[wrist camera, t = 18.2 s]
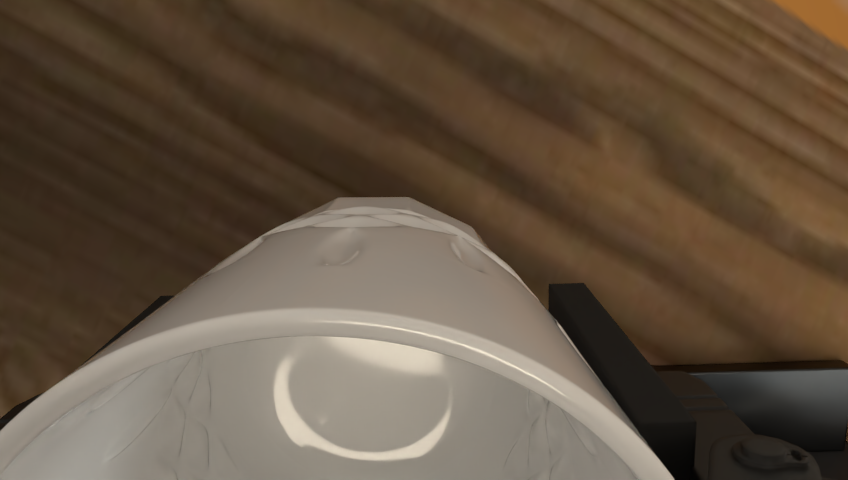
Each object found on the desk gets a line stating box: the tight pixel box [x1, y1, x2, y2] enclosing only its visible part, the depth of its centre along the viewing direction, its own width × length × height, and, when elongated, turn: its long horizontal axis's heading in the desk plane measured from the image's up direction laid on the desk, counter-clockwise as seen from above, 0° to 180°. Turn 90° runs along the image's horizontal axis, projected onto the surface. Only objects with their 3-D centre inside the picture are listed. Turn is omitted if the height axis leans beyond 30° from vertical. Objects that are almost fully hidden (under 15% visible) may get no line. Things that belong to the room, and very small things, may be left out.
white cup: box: [0, 197, 675, 480], centre depth 12 cm, size 8×8×10 cm
